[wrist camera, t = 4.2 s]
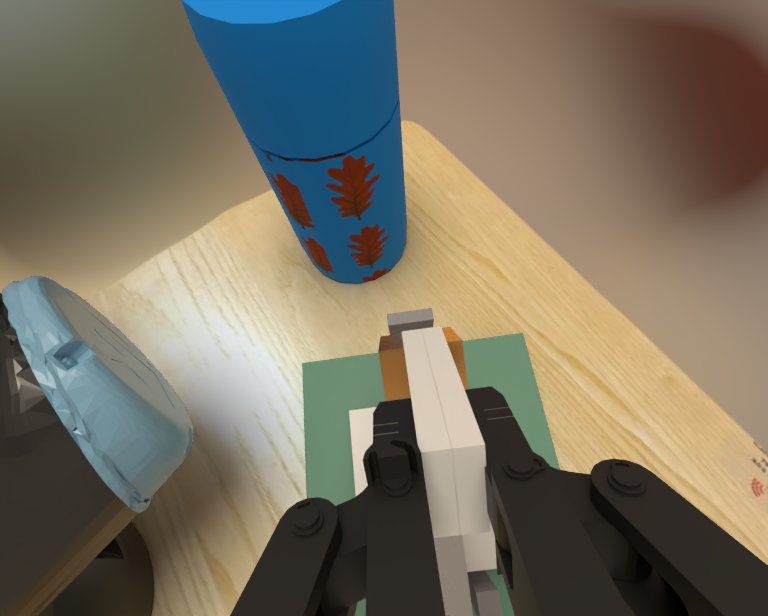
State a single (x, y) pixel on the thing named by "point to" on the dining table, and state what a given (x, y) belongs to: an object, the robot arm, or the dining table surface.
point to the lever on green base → (355, 432)
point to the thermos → (318, 119)
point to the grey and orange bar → (446, 547)
